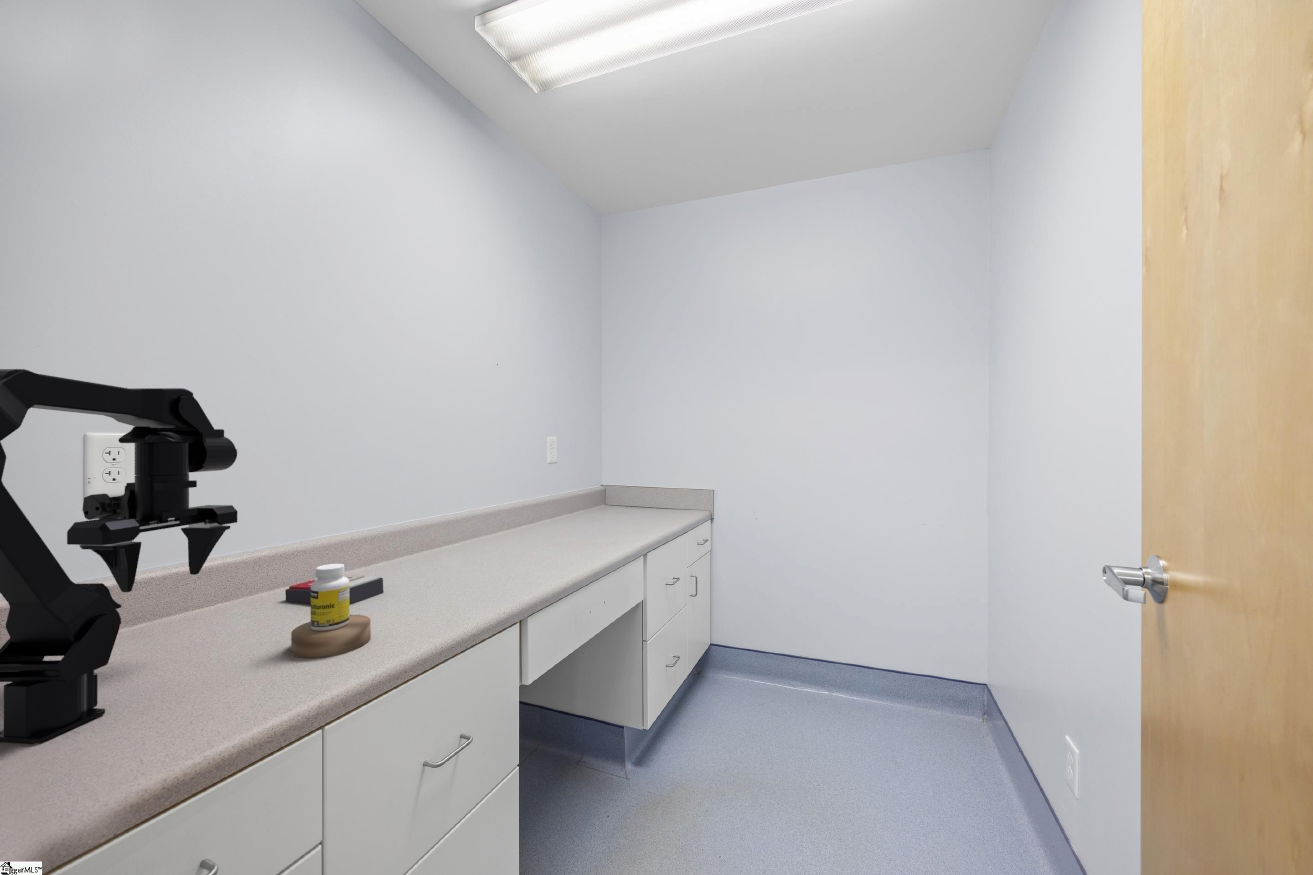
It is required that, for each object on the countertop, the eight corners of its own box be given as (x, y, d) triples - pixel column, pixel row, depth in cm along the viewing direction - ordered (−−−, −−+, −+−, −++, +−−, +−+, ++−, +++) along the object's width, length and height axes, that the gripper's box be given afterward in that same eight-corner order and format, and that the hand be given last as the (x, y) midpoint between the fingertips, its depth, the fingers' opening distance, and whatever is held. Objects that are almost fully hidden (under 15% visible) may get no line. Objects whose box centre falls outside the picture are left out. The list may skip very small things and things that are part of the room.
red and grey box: (331, 572, 118) (383, 574, 114) (331, 591, 118) (384, 593, 113) (284, 585, 107) (340, 587, 103) (284, 606, 107) (340, 609, 103)
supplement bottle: (302, 631, 82) (302, 569, 82) (327, 619, 87) (327, 561, 88) (333, 632, 81) (333, 570, 82) (357, 620, 87) (357, 562, 87)
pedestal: (339, 659, 78) (339, 639, 78) (273, 656, 80) (273, 637, 80) (384, 632, 89) (384, 615, 89) (326, 630, 91) (326, 613, 91)
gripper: (179, 470, 85) (179, 565, 85) (29, 479, 66) (29, 600, 66) (240, 470, 84) (240, 567, 83) (105, 479, 65) (105, 603, 65)
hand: (162, 582), depth 74 cm, fingers open, 9 cm apart
